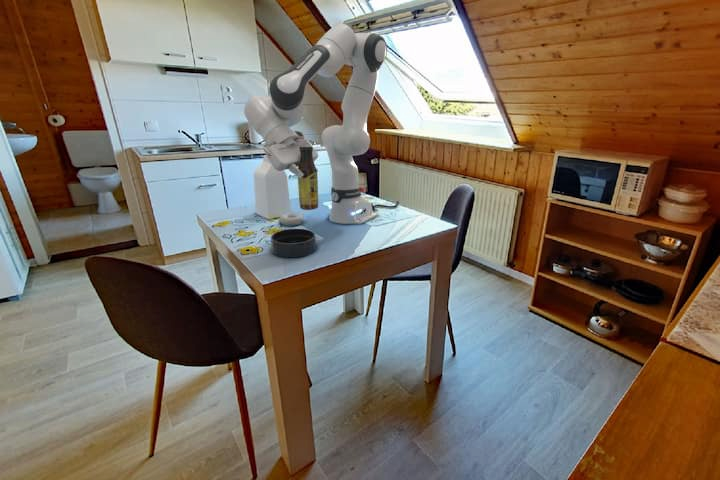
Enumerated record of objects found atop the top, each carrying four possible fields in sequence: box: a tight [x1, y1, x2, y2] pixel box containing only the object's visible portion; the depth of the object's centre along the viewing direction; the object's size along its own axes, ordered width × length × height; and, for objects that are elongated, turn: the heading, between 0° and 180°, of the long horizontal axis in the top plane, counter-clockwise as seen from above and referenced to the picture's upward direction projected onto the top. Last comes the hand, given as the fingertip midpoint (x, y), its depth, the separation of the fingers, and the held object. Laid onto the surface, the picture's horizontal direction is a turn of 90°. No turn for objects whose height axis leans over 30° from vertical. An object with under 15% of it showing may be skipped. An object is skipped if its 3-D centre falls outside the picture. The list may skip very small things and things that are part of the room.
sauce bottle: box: [297, 145, 319, 211], centre depth 110 cm, size 7×6×20 cm
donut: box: [278, 212, 304, 227], centre depth 145 cm, size 10×3×10 cm
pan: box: [270, 228, 317, 258], centre depth 119 cm, size 15×15×5 cm
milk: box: [253, 154, 292, 220], centre depth 153 cm, size 12×12×26 cm
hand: (309, 174), depth 110 cm, fingers closed on sauce bottle, 6 cm apart
